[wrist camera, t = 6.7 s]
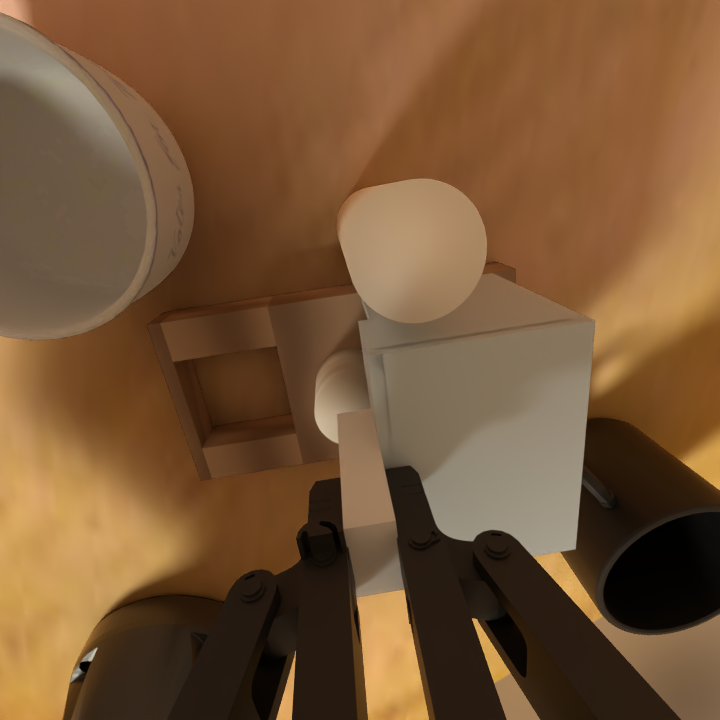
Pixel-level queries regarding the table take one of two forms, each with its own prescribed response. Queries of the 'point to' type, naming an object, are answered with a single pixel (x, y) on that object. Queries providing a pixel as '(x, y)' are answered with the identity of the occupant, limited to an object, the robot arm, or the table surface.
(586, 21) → the table surface
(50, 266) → the teacup
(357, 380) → the wooden tray
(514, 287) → the cover
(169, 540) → the table surface
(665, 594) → the mug
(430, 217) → the pin
